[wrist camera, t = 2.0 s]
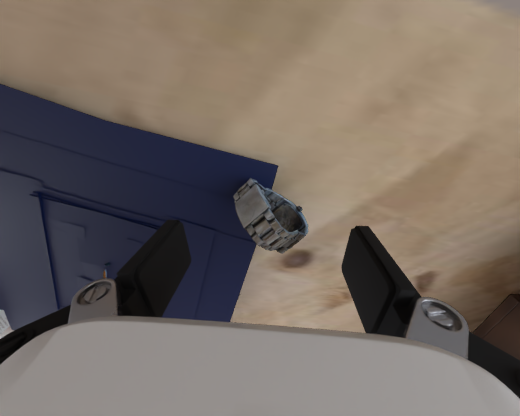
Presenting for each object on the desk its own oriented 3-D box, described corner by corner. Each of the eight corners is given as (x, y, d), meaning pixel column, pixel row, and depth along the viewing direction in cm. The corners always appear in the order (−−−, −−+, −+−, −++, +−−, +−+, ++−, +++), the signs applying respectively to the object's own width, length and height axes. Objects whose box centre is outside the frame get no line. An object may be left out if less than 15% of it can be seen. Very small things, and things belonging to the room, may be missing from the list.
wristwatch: (250, 204, 16) (287, 253, 14) (216, 190, 11) (265, 261, 10) (277, 180, 16) (319, 228, 14) (254, 154, 11) (312, 223, 9)
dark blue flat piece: (37, 324, 26) (2, 353, 22) (-31, 64, 14) (-125, 44, 11) (212, 365, 27) (204, 398, 24) (280, 160, 16) (283, 169, 12)
